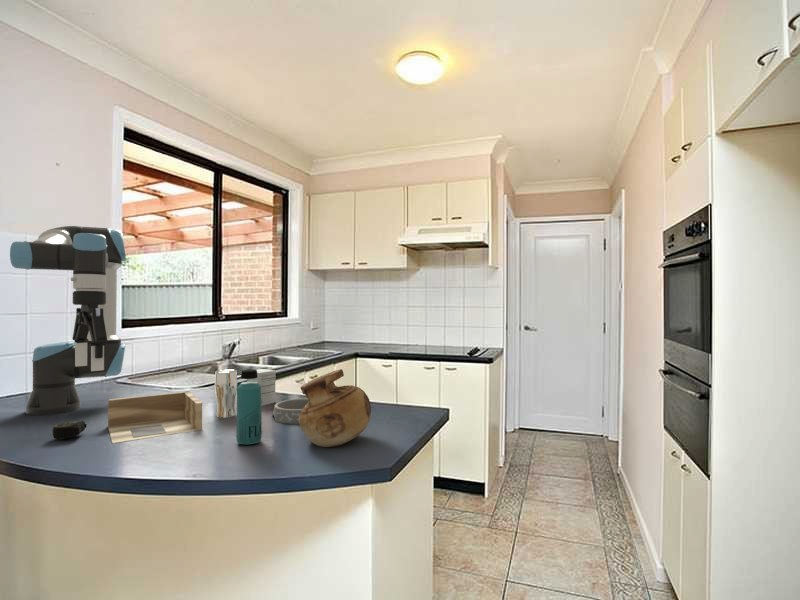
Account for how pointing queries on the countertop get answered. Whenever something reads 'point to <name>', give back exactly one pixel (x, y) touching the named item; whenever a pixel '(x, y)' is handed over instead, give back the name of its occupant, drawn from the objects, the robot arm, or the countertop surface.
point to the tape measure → (68, 429)
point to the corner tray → (153, 416)
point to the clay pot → (333, 411)
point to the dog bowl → (289, 410)
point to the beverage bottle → (249, 409)
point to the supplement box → (266, 385)
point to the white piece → (225, 392)
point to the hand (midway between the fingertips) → (89, 368)
